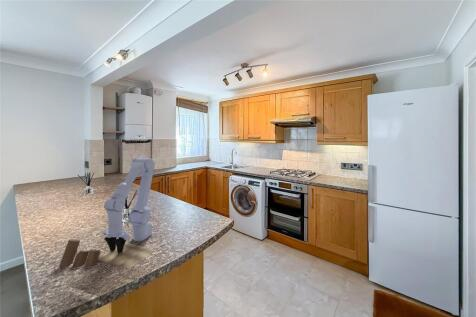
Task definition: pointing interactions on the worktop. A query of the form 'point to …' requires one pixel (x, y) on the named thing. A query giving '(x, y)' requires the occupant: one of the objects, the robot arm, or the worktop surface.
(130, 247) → the oak plank
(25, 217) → the worktop surface
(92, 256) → the wooden block set
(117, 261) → the floor panel
